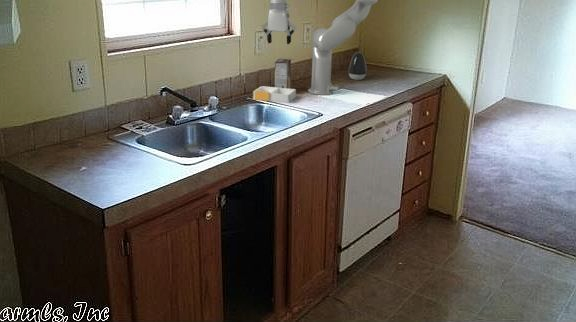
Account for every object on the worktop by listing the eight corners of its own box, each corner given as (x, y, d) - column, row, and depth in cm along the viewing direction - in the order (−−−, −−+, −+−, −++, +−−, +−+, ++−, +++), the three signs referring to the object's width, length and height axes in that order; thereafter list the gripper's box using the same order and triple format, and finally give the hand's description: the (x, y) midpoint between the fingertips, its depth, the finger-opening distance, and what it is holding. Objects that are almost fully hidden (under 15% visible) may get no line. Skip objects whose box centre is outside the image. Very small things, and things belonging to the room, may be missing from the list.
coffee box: (278, 89, 277) (278, 58, 271) (290, 90, 276) (291, 59, 270) (274, 93, 269) (274, 61, 263) (286, 94, 267) (287, 62, 262)
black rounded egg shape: (369, 78, 307) (371, 51, 302) (361, 81, 299) (363, 54, 294) (352, 76, 312) (354, 49, 307) (344, 79, 304) (346, 52, 299)
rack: (295, 96, 264) (296, 88, 262) (288, 103, 252) (288, 93, 251) (261, 93, 268) (261, 84, 267) (252, 99, 257) (252, 90, 255)
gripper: (298, 6, 256) (298, 42, 262) (264, 5, 261) (265, 41, 268) (293, 8, 249) (293, 45, 256) (258, 7, 255) (259, 43, 261)
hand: (279, 43), depth 262 cm, fingers open, 9 cm apart
